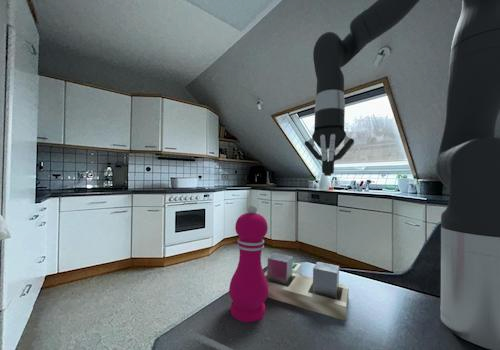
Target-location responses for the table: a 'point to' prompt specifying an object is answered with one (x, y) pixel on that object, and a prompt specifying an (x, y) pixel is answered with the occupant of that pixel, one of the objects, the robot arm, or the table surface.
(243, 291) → the pepper mill
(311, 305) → the wooden tray
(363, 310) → the table surface
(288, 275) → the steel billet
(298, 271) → the button housing
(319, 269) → the block
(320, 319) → the table surface
